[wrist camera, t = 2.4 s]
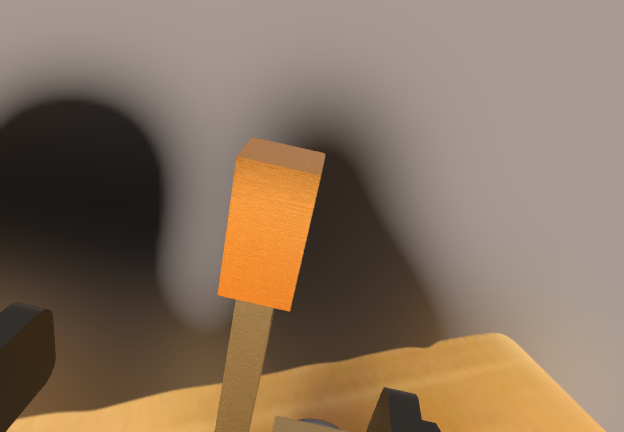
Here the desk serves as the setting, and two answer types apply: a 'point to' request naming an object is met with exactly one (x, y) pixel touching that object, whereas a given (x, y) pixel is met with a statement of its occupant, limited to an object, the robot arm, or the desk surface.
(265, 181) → the lever
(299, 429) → the block
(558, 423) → the desk surface
